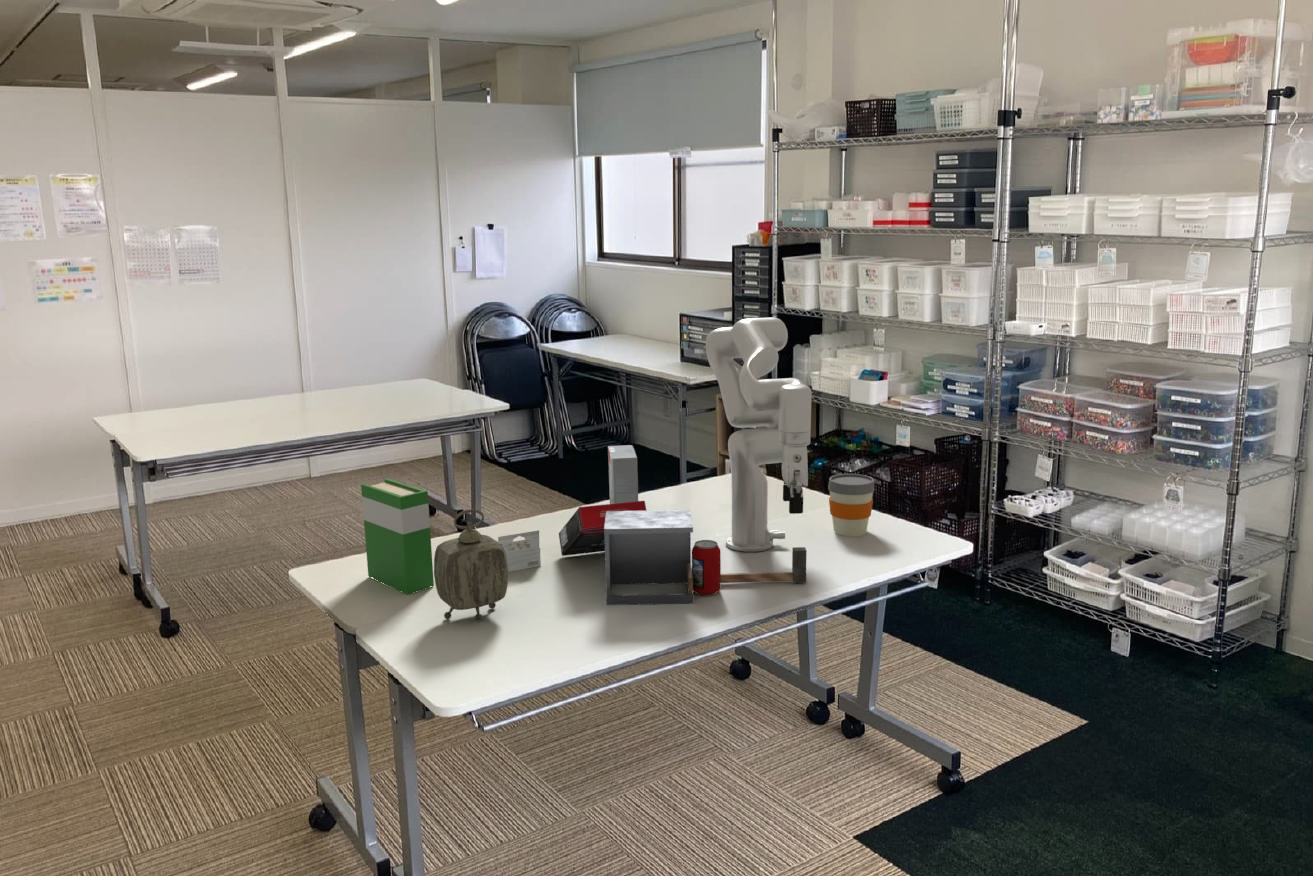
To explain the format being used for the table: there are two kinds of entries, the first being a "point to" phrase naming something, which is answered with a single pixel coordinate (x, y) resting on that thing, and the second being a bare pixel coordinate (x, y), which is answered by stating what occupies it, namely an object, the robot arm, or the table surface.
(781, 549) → the table surface
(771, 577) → the pull rod
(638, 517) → the shelf lane
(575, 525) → the graphics card box
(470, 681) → the table surface
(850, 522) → the reusable coffee cup
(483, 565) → the tabletop clock
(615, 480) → the hard drive box
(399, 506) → the hardback book
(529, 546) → the ink box
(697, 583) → the beverage can
